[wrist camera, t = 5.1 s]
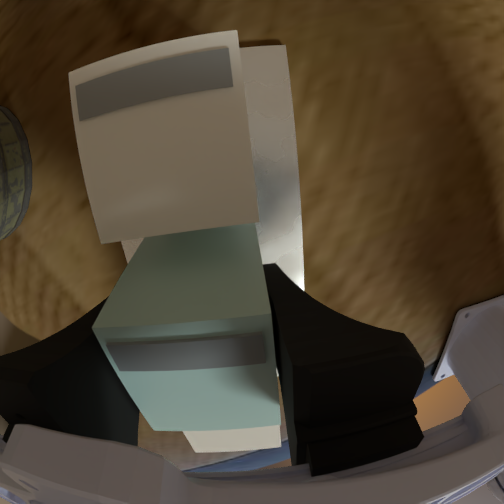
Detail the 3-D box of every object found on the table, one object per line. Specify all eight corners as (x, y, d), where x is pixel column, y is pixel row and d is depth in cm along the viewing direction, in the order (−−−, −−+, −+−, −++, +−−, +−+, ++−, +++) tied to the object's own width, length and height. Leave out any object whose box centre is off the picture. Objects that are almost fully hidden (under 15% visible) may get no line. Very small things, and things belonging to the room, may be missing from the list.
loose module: (254, 219, 12) (272, 316, 6) (265, 317, 14) (281, 427, 9) (146, 233, 12) (90, 331, 6) (174, 326, 14) (153, 433, 9)
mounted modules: (236, 64, 10) (236, 28, 5) (272, 378, 17) (281, 448, 13) (128, 85, 10) (66, 72, 5) (200, 385, 17) (195, 454, 13)
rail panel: (284, 46, 11) (289, 39, 10) (303, 368, 19) (307, 383, 18) (93, 82, 11) (80, 79, 10) (174, 380, 19) (171, 395, 18)
